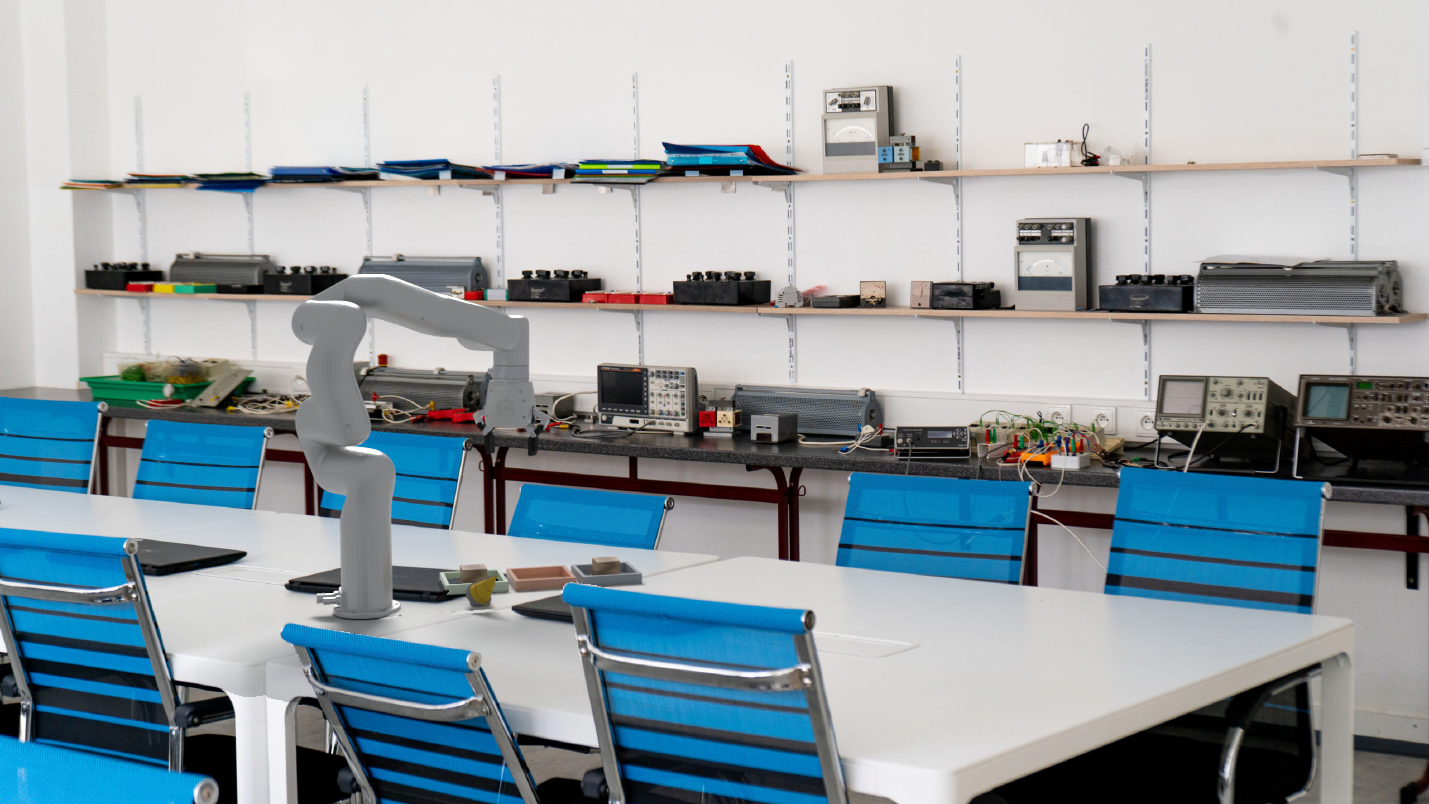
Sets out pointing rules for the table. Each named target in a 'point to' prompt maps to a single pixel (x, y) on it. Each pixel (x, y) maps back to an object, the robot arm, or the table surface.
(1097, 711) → the table surface
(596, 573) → the walnut block
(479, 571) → the walnut block
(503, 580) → the sage tray
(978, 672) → the table surface
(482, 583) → the mustard yellow cone
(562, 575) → the terracotta dish
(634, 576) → the grey tray
